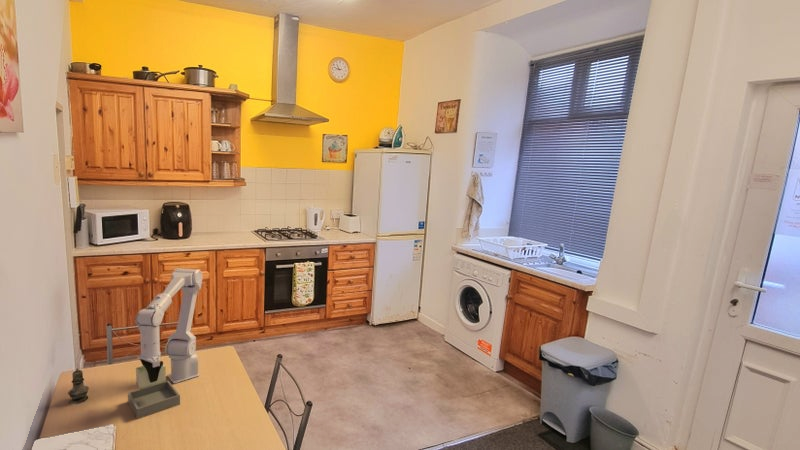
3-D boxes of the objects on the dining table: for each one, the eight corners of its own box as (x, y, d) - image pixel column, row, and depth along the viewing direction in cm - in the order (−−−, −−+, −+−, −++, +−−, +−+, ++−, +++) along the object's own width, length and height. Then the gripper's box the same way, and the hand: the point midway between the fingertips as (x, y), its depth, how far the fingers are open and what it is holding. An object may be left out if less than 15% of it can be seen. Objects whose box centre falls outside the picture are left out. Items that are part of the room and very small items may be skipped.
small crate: (161, 376, 148) (161, 361, 148) (165, 381, 145) (165, 366, 144) (136, 383, 143) (135, 367, 142) (139, 389, 139) (139, 373, 138)
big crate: (168, 389, 154) (168, 380, 153) (180, 404, 145) (179, 395, 144) (128, 401, 145) (127, 392, 144) (137, 419, 135) (136, 409, 135)
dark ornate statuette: (77, 405, 141) (75, 373, 139) (64, 402, 142) (62, 371, 141) (93, 396, 147) (91, 365, 145) (80, 394, 148) (78, 363, 146)
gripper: (132, 338, 144) (133, 373, 146) (142, 352, 134) (143, 390, 136) (154, 333, 149) (155, 367, 151) (165, 346, 139) (167, 383, 141)
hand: (151, 378), depth 144 cm, fingers closed on small crate, 5 cm apart
